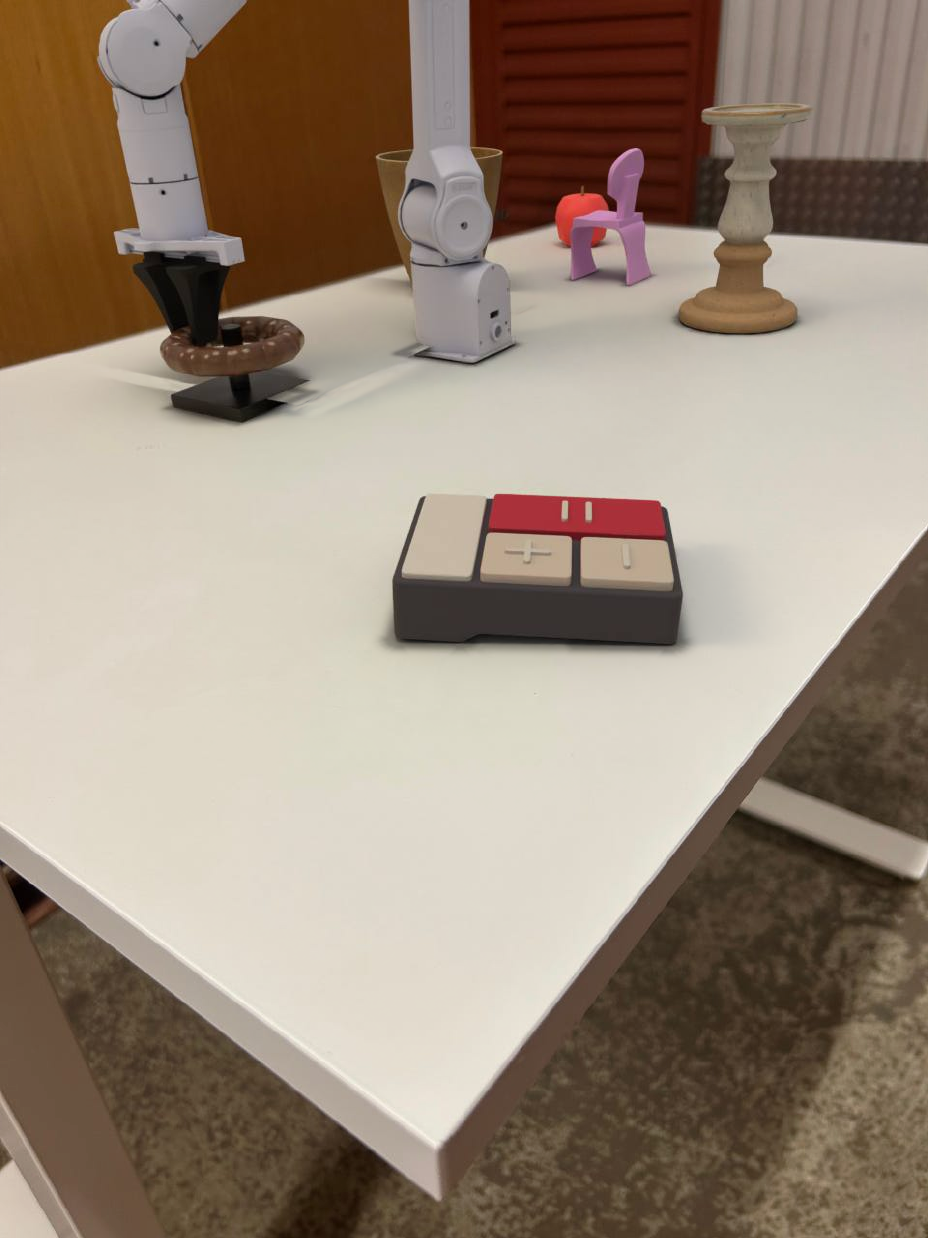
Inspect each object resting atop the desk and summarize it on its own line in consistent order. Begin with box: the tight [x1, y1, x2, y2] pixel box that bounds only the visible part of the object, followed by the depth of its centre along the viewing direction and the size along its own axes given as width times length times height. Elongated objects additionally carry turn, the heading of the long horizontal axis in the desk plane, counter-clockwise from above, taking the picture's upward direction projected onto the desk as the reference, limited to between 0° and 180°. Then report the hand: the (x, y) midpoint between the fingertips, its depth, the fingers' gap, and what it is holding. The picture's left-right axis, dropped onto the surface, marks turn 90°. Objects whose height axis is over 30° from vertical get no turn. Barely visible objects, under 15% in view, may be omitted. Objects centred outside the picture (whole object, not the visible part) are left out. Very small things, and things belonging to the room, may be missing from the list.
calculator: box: [391, 493, 684, 645], centre depth 54 cm, size 11×4×15 cm
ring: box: [159, 315, 306, 378], centre depth 86 cm, size 12×12×2 cm
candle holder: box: [678, 102, 814, 334], centre depth 98 cm, size 12×12×20 cm
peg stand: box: [170, 324, 311, 423], centre depth 87 cm, size 9×9×7 cm
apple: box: [554, 185, 610, 248], centre depth 141 cm, size 8×8×8 cm
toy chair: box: [570, 147, 652, 286], centre depth 119 cm, size 8×9×15 cm
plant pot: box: [375, 146, 504, 284], centre depth 116 cm, size 15×15×16 cm
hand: (195, 340), depth 88 cm, fingers closed on ring, 2 cm apart
